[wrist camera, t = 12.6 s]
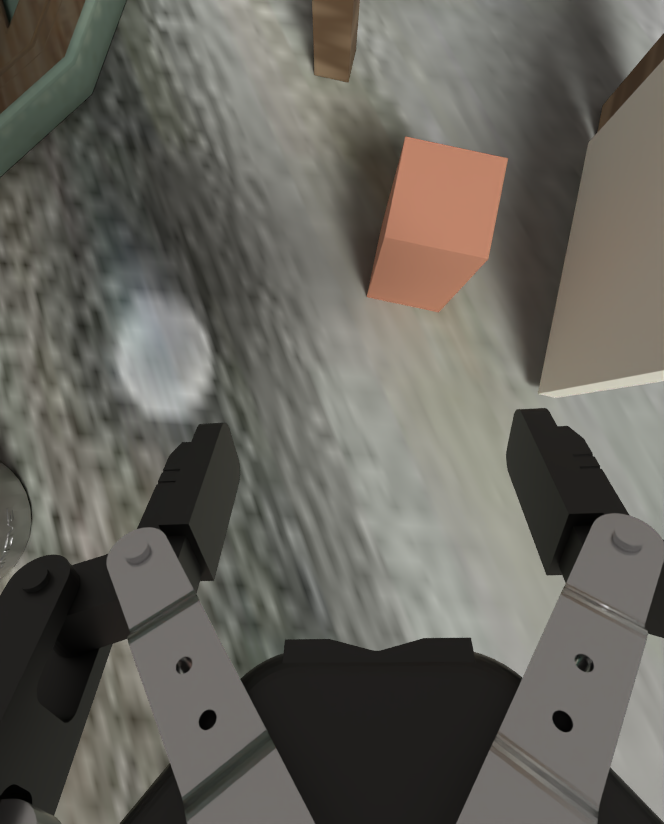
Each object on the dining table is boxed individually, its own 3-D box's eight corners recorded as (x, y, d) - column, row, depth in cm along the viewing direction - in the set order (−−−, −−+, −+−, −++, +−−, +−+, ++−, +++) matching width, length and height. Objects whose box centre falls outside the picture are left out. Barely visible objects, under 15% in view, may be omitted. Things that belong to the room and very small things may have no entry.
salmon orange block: (366, 296, 31) (384, 237, 22) (381, 226, 31) (405, 136, 22) (438, 312, 31) (488, 259, 22) (452, 241, 31) (507, 158, 22)
